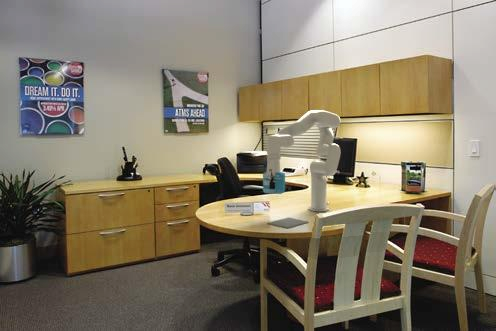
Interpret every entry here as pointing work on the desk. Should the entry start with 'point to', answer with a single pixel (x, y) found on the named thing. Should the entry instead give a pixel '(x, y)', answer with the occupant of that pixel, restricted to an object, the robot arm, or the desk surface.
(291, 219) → the desk mat
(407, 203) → the desk surface
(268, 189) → the teal rounded box
